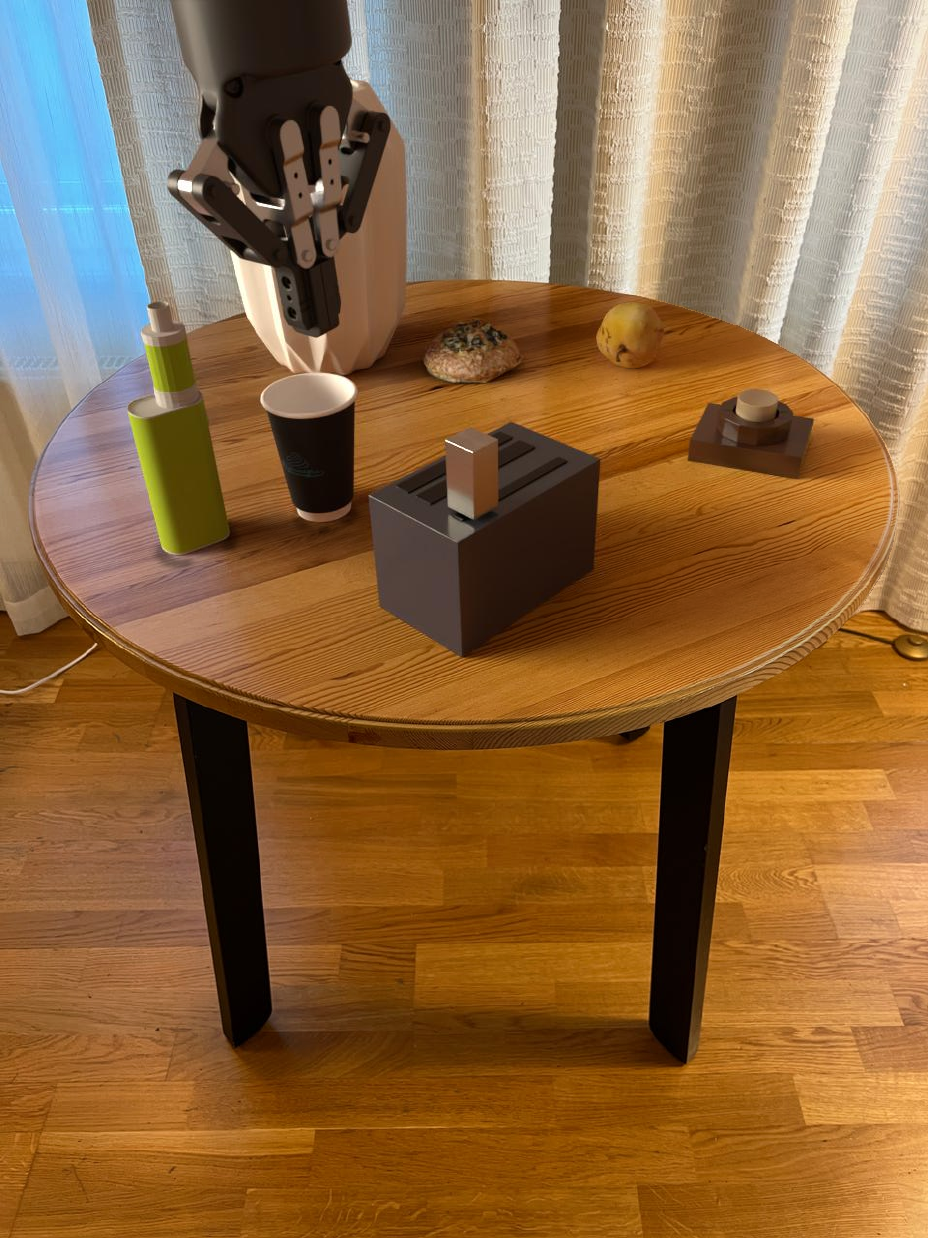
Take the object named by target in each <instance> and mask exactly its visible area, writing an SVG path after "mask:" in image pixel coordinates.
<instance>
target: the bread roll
mask: <svg viewBox="0 0 928 1238" xmlns="http://www.w3.org/2000/svg"><path fill="white" fill-rule="evenodd" d="M422 357H423V358H422V360H423V364H424V366H425V367H426V370H427V372H428V374H430V375H431V376H433V377H435V378H436V379H439V380H443V381H446V382H449V383H455V384H456V383H483V384H486V383H488V382H491V381H492V380H494V379H496V378H498V377H500V376H502V375H503V374H504V373H506V372H508V371H511V370H515V368H517V366H519V365H520V364H521V361H522V360H523V355H521V354H520V351H519V347H518V346H517V344H516V342H515V341H514V340H513V338H511V337H510V335H508V334H507V333H505V332H504V331H503V330H502V329H500V328H495V327H494V326H493V325H492V323H490V322H488V321H486V322H485V323H483V324H482V323H481V320H480V319H479V318H474V319H473V320H471V321H469V322H468V321H467V322H465V321H460V322H458V323H457V324H456V325H453V326H452V327H449V328H448V329H446V330H444V331H440V332H438V333H436V334H434V336H432V338H431V339H430V340H429V341H428V343H427V344H426V345H425V349H424V350H423V355H422Z"/></svg>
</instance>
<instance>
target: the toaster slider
mask: <svg viewBox="0 0 928 1238" xmlns="http://www.w3.org/2000/svg"><path fill="white" fill-rule="evenodd" d="M487 434H488V433H485V432H482V431H480V430H478V429H475V428H473V427H471V426H470V427H467V428H466V429H463V430H462V431H460V432H457V433H455V434H453V435H451V436H450V437H447V438H446V439H444V450H445V455H446V476H447V499H448V507H449V508H451V509H453V510H455V511H457V512H459V513H461V514H463V515H465V516H467V517H469V518H471V519H473V520H476V519H478V518H479V517H481V516H483V515H485V514H486V513H488V512H490V511H491V510H493V509H495V508H497V507H498V439H496V438H494V437H492V436H489V435H487Z"/></svg>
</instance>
